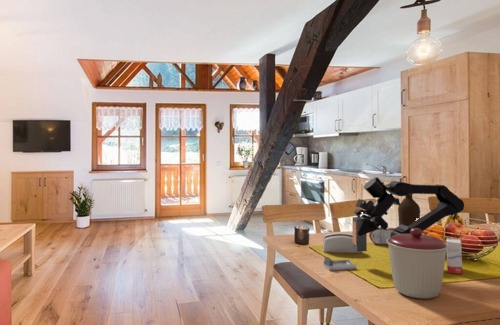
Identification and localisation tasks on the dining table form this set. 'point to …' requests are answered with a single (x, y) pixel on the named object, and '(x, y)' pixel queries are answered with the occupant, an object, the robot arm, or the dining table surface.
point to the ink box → (454, 256)
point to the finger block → (358, 241)
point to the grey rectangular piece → (338, 264)
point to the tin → (380, 236)
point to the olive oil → (408, 211)
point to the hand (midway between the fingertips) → (356, 234)
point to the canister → (417, 263)
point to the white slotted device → (338, 243)
